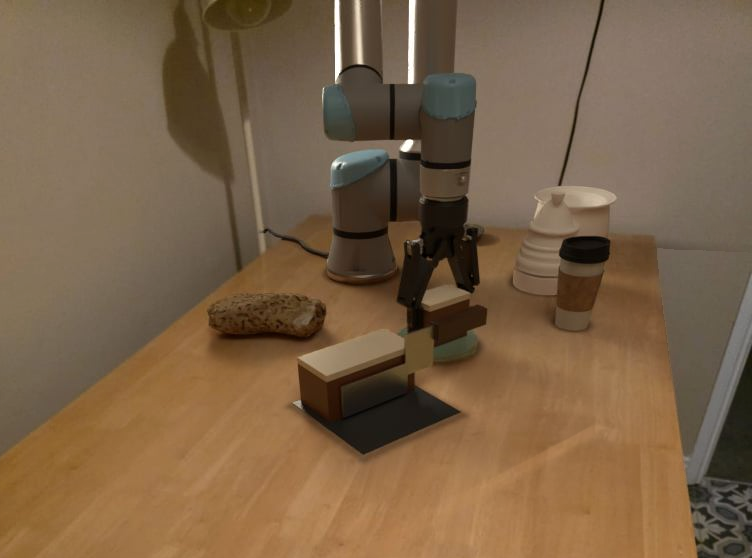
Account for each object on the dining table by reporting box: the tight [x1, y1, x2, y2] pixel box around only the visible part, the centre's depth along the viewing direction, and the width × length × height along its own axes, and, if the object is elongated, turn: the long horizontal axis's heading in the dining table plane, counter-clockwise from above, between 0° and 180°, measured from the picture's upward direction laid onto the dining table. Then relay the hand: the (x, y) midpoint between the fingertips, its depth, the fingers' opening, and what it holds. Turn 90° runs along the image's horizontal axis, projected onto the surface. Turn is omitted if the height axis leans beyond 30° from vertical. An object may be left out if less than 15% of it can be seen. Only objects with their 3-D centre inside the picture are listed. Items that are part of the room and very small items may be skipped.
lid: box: [464, 223, 485, 238], centre depth 162 cm, size 10×10×5 cm
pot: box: [533, 185, 618, 238], centre depth 150 cm, size 22×17×12 cm
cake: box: [296, 327, 416, 423], centre depth 99 cm, size 16×8×8 cm, turn 127°
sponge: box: [206, 292, 327, 338], centre depth 120 cm, size 13×8×20 cm
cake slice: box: [406, 283, 471, 347], centre depth 113 cm, size 6×9×8 cm, turn 127°
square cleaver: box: [340, 304, 488, 418], centre depth 99 cm, size 27×2×10 cm, turn 127°
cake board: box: [292, 384, 462, 456], centre depth 99 cm, size 18×18×1 cm
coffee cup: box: [554, 236, 612, 332], centre depth 118 cm, size 8×8×15 cm
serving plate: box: [396, 326, 479, 362], centre depth 116 cm, size 14×14×2 cm
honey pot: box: [512, 191, 580, 296], centre depth 133 cm, size 13×13×18 cm
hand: (437, 335), depth 115 cm, fingers closed on cake slice, 9 cm apart
